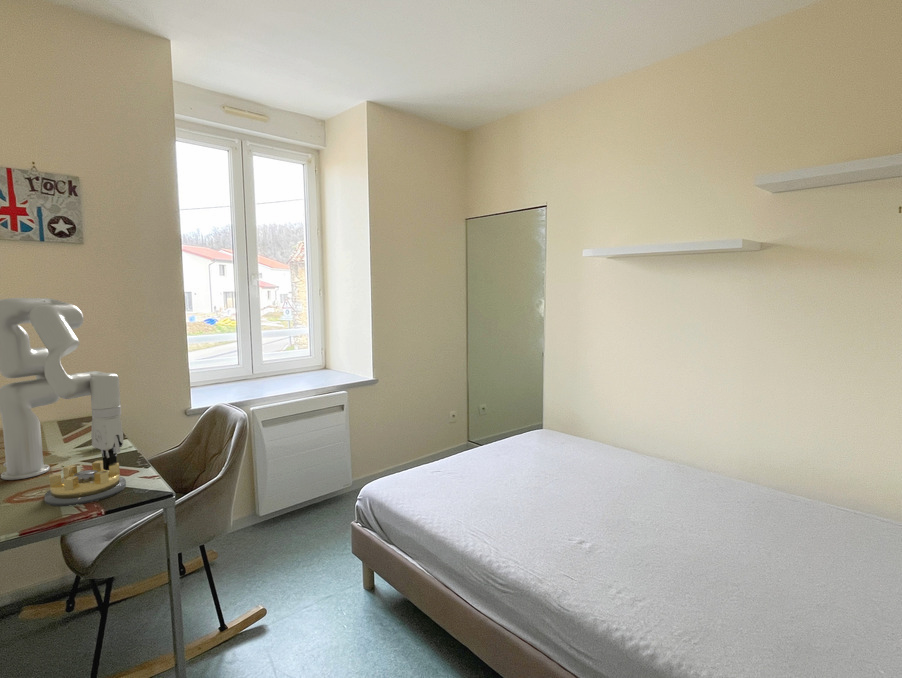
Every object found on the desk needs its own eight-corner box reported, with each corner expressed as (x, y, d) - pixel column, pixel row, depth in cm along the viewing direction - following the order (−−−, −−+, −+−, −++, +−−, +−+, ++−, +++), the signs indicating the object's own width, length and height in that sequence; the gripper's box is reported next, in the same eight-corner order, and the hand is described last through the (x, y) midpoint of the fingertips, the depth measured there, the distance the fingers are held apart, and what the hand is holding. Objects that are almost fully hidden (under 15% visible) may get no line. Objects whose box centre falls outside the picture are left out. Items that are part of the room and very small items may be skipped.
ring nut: (72, 478, 157) (71, 462, 157) (130, 475, 160) (129, 458, 159) (36, 500, 140) (35, 481, 140) (101, 496, 143) (100, 477, 142)
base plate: (28, 501, 144) (27, 495, 144) (96, 477, 163) (96, 472, 163) (75, 510, 138) (75, 504, 137) (141, 484, 156) (140, 479, 156)
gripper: (80, 412, 155) (84, 468, 156) (106, 417, 148) (110, 476, 149) (106, 407, 161) (110, 461, 163) (132, 412, 154) (135, 469, 156)
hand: (110, 468), depth 156 cm, fingers closed
